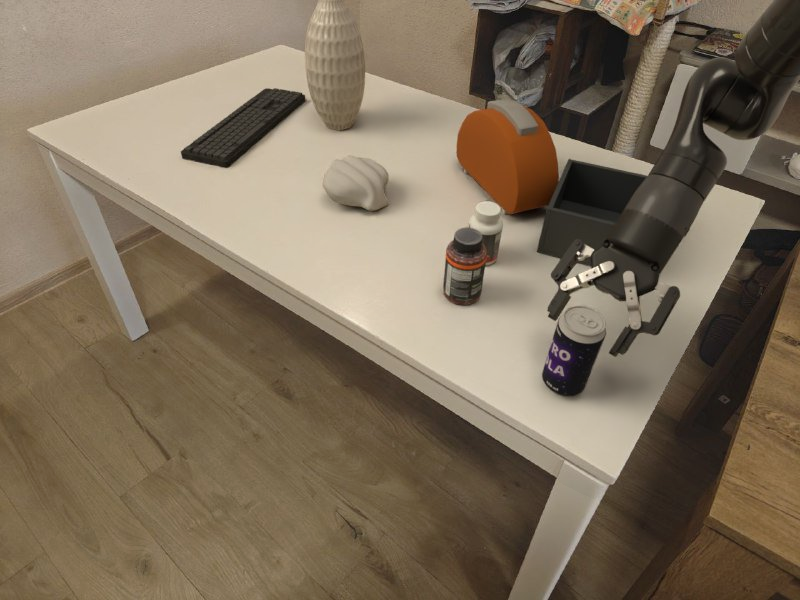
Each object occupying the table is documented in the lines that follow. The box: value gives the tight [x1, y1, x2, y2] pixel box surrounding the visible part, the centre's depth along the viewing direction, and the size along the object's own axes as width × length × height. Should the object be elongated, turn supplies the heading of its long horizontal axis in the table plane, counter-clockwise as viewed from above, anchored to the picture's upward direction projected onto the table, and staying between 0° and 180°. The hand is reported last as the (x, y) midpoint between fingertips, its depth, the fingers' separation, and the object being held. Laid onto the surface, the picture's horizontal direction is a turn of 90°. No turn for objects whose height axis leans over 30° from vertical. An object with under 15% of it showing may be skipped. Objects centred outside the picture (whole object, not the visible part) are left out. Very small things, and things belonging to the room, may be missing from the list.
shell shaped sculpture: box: [322, 154, 390, 212], centre depth 102 cm, size 13×13×6 cm
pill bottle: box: [468, 200, 504, 267], centre depth 88 cm, size 5×5×10 cm
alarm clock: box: [456, 98, 560, 215], centre depth 101 cm, size 23×9×17 cm, turn 22°
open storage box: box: [536, 158, 648, 267], centre depth 93 cm, size 16×18×9 cm
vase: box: [304, 0, 366, 131], centre depth 117 cm, size 13×13×28 cm
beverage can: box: [541, 305, 607, 397], centre depth 68 cm, size 6×6×12 cm
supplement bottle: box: [442, 227, 487, 306], centre depth 81 cm, size 6×6×11 cm
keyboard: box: [180, 87, 306, 169], centre depth 124 cm, size 35×11×2 cm, turn 160°
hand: (581, 336), depth 67 cm, fingers open, 8 cm apart
